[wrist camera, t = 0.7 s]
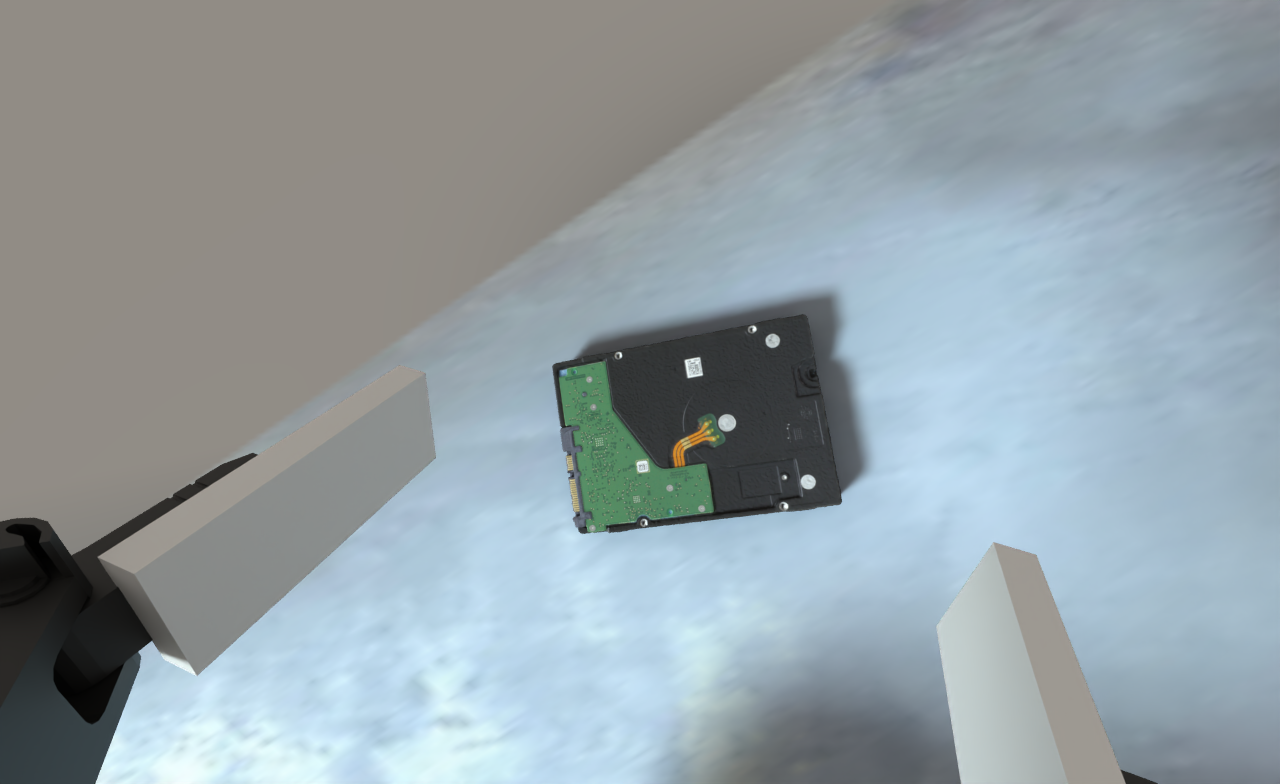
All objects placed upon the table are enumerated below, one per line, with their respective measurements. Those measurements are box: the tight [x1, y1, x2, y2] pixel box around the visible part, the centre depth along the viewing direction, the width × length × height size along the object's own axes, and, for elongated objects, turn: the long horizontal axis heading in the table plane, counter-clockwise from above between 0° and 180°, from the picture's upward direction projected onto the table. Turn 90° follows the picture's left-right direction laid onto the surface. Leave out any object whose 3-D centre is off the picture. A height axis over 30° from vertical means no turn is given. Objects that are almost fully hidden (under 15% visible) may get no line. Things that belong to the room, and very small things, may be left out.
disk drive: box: [552, 315, 842, 534], centre depth 30 cm, size 10×3×15 cm
